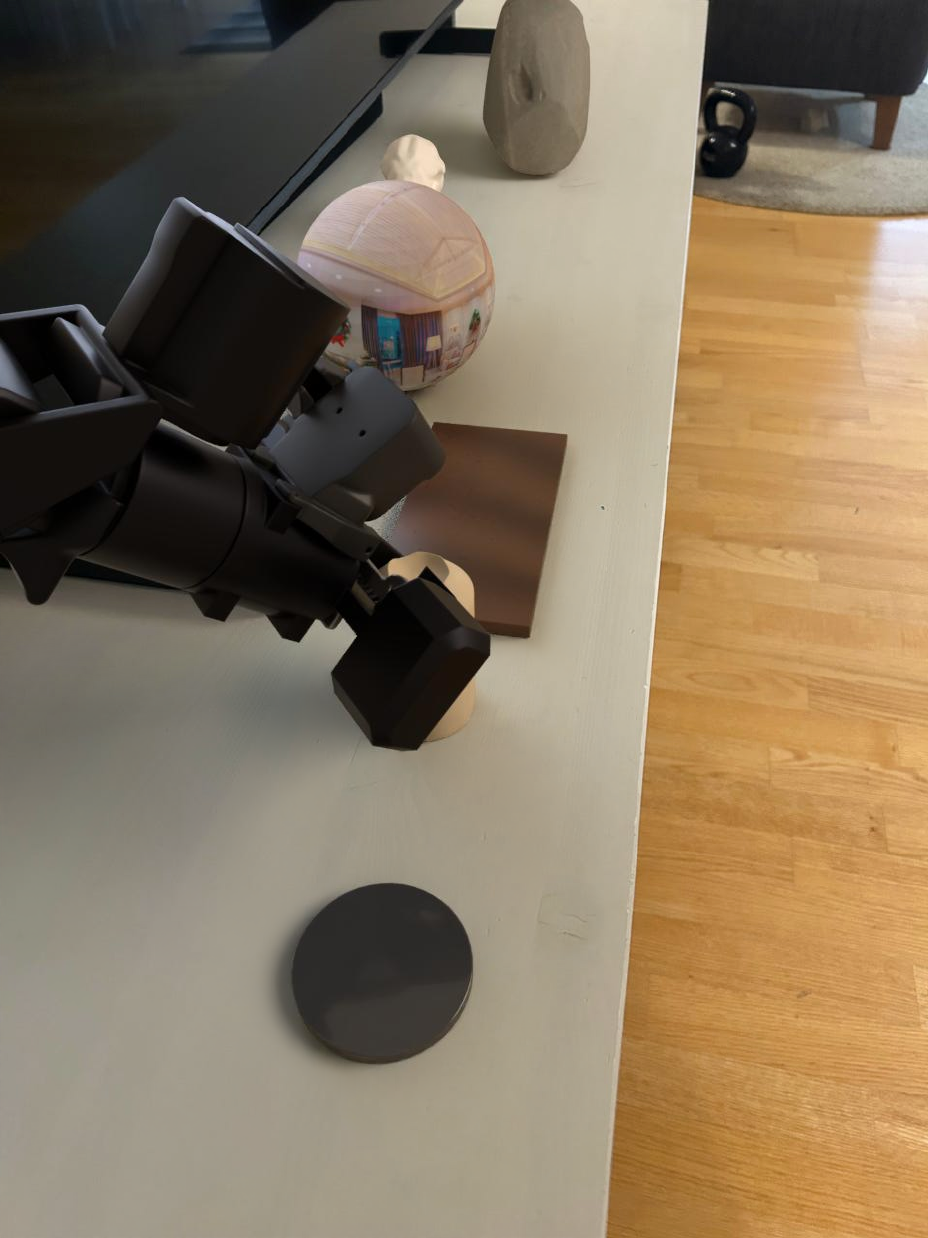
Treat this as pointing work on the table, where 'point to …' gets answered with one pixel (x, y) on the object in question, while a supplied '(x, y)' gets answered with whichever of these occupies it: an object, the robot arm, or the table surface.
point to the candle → (464, 593)
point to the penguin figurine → (414, 162)
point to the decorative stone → (538, 85)
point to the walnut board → (489, 516)
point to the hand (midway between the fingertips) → (443, 610)
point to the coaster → (382, 972)
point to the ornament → (402, 280)
